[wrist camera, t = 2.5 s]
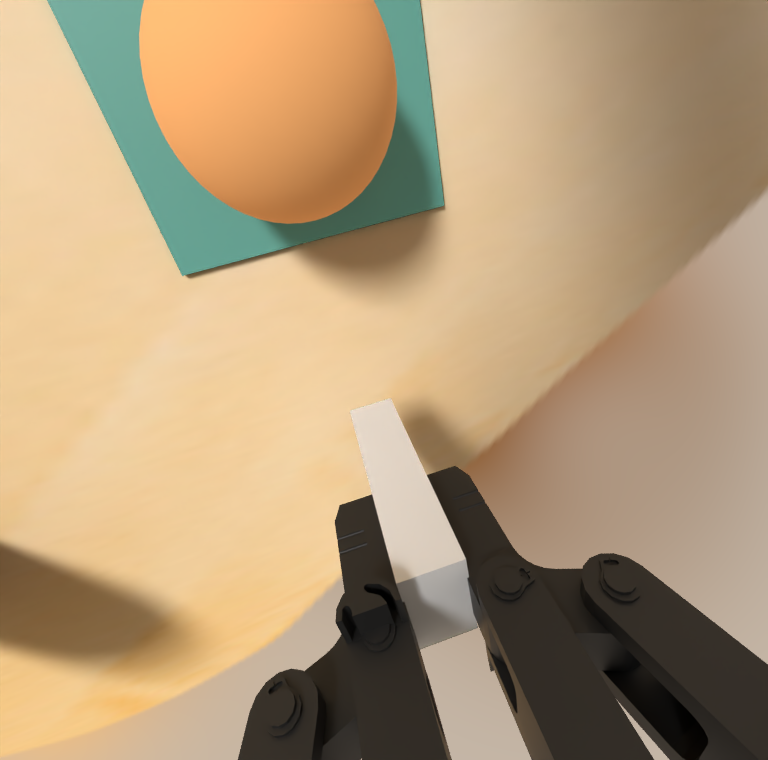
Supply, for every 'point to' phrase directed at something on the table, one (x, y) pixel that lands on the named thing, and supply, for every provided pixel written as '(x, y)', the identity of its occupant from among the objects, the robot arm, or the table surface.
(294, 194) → the ball
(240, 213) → the strip
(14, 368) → the table surface
